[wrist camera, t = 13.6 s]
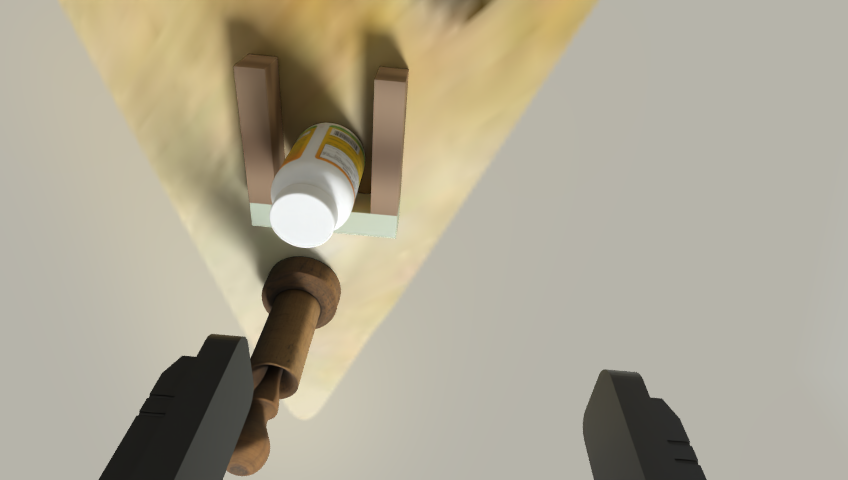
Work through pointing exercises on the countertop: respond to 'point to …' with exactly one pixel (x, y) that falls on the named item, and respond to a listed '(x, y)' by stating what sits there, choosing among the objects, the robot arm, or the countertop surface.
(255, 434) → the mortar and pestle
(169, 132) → the countertop surface
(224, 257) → the countertop surface
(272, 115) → the slot holder
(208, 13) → the countertop surface
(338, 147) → the supplement bottle
